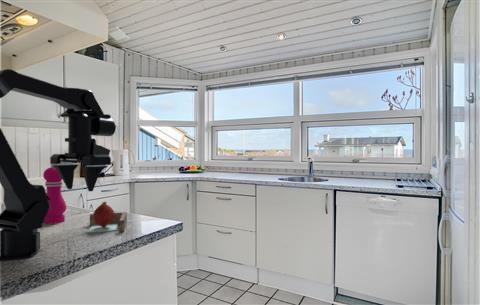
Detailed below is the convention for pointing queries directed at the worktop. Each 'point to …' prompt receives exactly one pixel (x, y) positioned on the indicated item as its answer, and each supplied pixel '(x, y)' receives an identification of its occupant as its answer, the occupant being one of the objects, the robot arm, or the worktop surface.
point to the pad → (103, 228)
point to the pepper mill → (54, 196)
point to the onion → (103, 215)
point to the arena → (114, 220)
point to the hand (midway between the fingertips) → (80, 190)
